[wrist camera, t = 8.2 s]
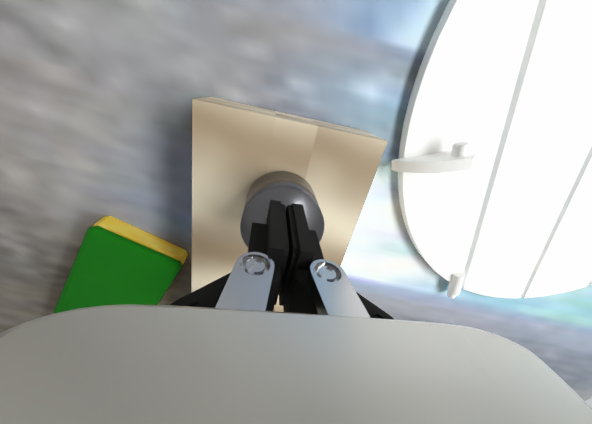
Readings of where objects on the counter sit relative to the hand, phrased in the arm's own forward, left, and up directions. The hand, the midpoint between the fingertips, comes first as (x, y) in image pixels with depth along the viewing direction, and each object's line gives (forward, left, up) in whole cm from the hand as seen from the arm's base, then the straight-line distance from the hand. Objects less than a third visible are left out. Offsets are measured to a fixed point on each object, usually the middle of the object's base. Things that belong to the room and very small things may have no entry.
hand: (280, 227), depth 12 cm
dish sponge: (-13, +13, -8) cm, 20 cm away
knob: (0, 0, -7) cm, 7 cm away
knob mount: (-11, 0, -7) cm, 13 cm away
